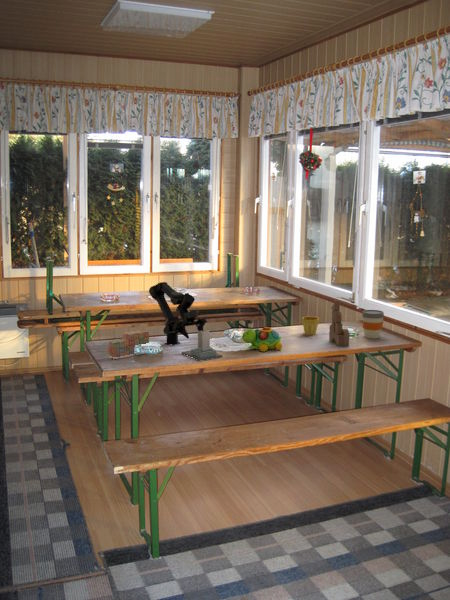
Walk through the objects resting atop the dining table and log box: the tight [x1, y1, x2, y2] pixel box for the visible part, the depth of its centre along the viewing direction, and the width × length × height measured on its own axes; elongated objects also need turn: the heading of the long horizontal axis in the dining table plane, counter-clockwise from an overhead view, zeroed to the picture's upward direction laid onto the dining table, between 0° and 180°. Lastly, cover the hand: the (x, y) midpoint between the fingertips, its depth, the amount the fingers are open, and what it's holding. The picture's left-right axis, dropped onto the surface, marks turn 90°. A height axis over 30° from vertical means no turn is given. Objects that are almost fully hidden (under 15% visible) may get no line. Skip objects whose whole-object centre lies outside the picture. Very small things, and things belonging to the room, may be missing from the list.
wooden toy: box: [328, 300, 350, 348], centre depth 362 cm, size 16×7×25 cm, turn 13°
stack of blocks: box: [107, 329, 150, 357], centre depth 339 cm, size 21×6×12 cm, turn 129°
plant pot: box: [301, 315, 320, 336], centre depth 386 cm, size 10×10×10 cm
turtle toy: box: [241, 326, 283, 353], centre depth 352 cm, size 17×23×12 cm
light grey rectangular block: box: [197, 329, 211, 353], centre depth 336 cm, size 4×4×12 cm
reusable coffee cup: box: [361, 309, 385, 339], centre depth 378 cm, size 13×13×15 cm
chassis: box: [181, 347, 223, 361], centre depth 339 cm, size 18×14×4 cm
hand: (195, 337), depth 342 cm, fingers open, 9 cm apart
